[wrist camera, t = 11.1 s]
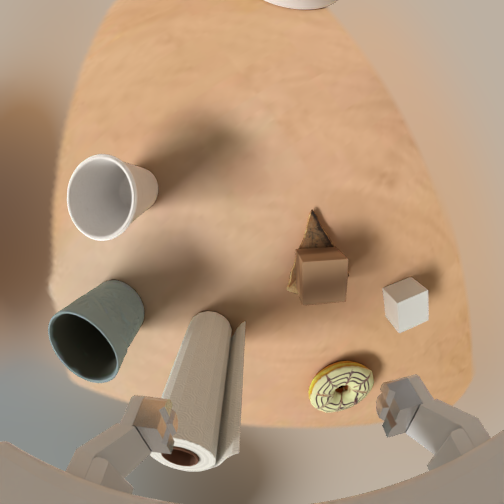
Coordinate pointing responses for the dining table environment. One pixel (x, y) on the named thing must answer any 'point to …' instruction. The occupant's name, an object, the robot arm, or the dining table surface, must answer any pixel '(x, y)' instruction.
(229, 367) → the paper towel roll
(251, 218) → the dining table surface
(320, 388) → the decorated donut
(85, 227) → the dixie cup
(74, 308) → the teal plant pot
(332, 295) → the walnut cube
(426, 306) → the grey cube
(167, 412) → the robot arm
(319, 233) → the shard
